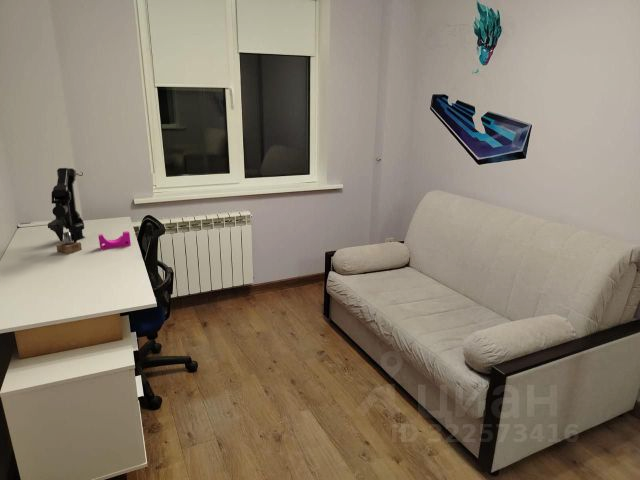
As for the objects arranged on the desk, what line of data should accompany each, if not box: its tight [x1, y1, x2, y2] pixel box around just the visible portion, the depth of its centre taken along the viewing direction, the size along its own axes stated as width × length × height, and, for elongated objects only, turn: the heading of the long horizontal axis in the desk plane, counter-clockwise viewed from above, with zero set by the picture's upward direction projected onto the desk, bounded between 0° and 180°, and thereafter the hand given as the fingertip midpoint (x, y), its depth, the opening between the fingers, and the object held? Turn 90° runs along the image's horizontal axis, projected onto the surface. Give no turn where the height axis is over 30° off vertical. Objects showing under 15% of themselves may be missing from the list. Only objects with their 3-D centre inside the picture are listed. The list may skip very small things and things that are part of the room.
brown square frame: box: [55, 241, 83, 255], centre depth 233 cm, size 8×8×4 cm
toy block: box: [98, 230, 132, 250], centre depth 242 cm, size 15×6×8 cm, turn 121°
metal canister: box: [63, 231, 73, 245], centre depth 232 cm, size 3×3×10 cm
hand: (68, 241), depth 232 cm, fingers open, 9 cm apart
